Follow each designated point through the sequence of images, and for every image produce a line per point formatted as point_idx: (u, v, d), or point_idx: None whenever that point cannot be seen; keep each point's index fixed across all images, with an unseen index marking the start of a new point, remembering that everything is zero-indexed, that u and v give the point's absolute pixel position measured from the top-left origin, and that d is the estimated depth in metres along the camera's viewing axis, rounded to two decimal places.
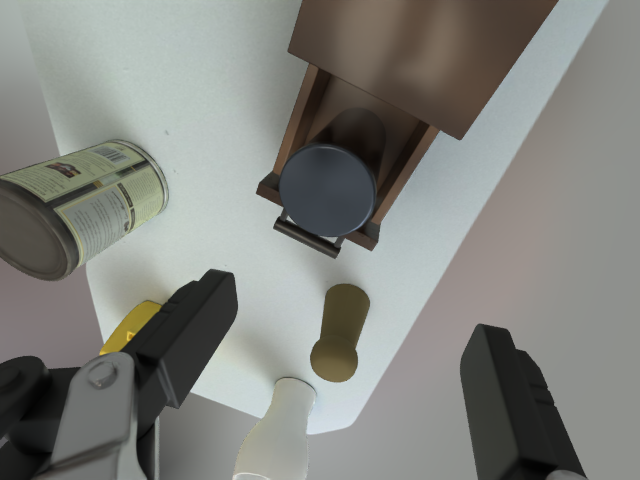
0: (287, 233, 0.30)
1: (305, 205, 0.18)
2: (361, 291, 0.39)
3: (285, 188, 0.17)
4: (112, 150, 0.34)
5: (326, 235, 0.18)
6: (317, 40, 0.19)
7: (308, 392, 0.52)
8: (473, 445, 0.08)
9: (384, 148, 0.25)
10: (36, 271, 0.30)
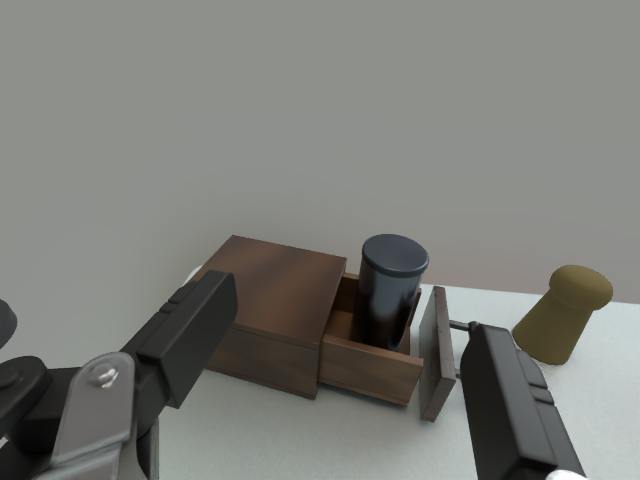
0: None
1: (409, 258, 0.25)
2: (514, 331, 0.38)
3: (403, 268, 0.24)
4: None
5: (423, 249, 0.26)
6: (309, 326, 0.27)
7: None
8: (473, 445, 0.08)
9: None
10: None
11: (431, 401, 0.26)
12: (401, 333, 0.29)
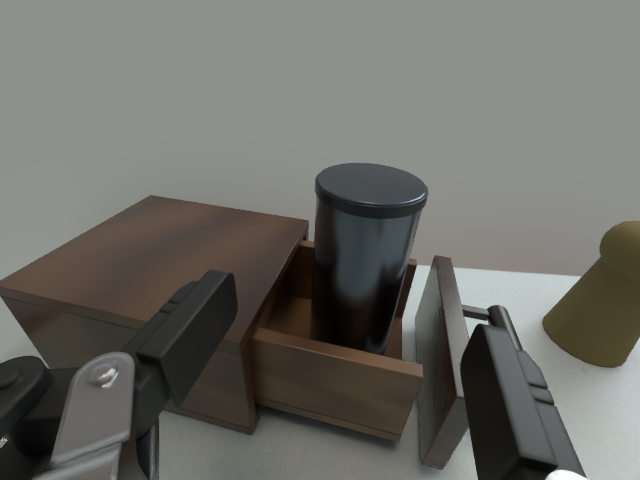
0: None
1: (394, 188, 0.14)
2: (545, 322, 0.28)
3: (383, 200, 0.13)
4: None
5: (418, 179, 0.16)
6: None
7: None
8: (473, 445, 0.08)
9: None
10: None
11: (437, 437, 0.15)
12: (386, 323, 0.18)
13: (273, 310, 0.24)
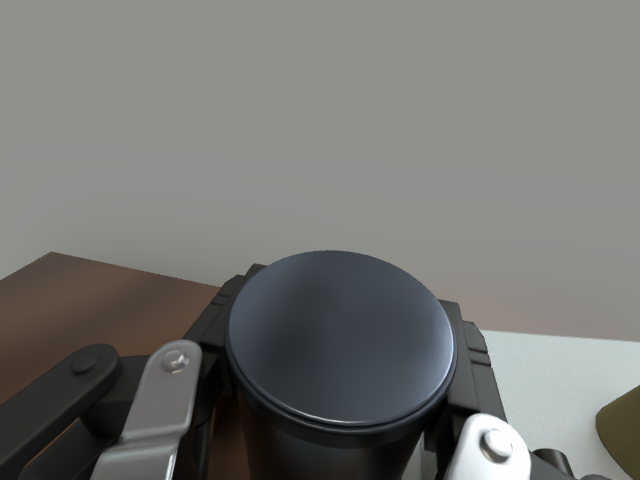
0: None
1: (385, 345, 0.07)
2: (600, 426, 0.20)
3: (358, 403, 0.06)
4: None
5: (435, 300, 0.08)
6: None
7: None
8: None
9: None
10: None
11: None
12: None
13: (213, 429, 0.17)
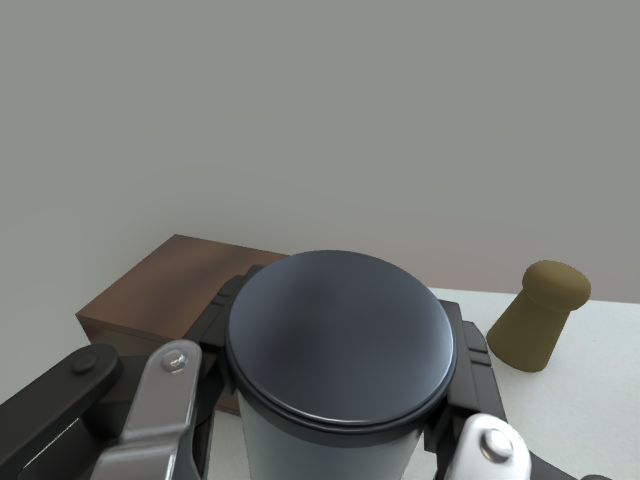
0: None
1: (385, 345, 0.07)
2: (488, 335, 0.35)
3: (357, 402, 0.06)
4: None
5: (435, 299, 0.08)
6: None
7: None
8: None
9: None
10: None
11: None
12: None
13: None
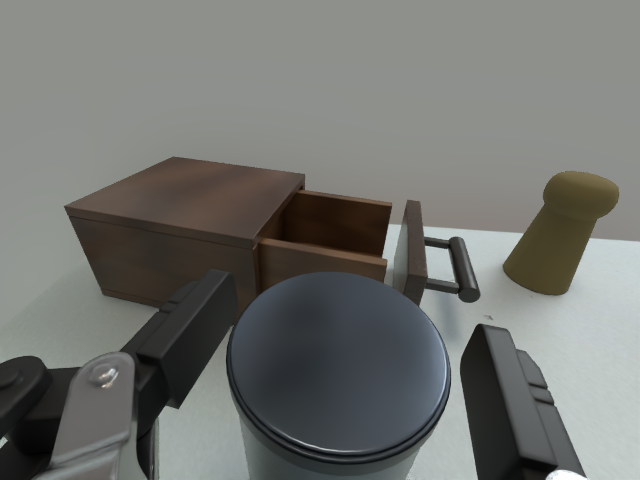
0: (470, 274, 0.22)
1: (381, 372, 0.07)
2: (504, 264, 0.33)
3: (354, 432, 0.06)
4: None
5: (430, 324, 0.08)
6: (244, 224, 0.21)
7: None
8: (473, 445, 0.08)
9: None
10: None
11: None
12: None
13: None
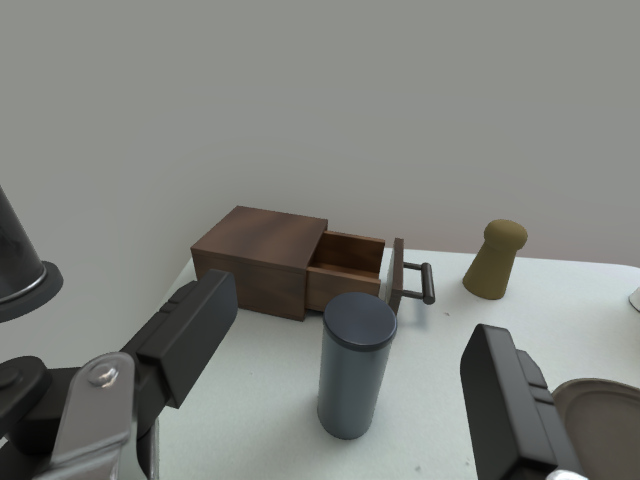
0: (430, 288, 0.37)
1: (374, 326, 0.22)
2: (463, 278, 0.48)
3: (366, 340, 0.21)
4: None
5: (392, 311, 0.24)
6: (297, 259, 0.36)
7: (634, 293, 0.46)
8: (473, 445, 0.08)
9: None
10: None
11: None
12: (372, 402, 0.26)
13: None
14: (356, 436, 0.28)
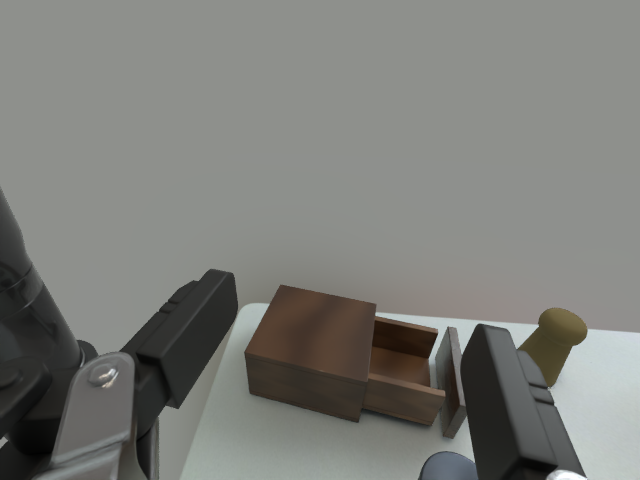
0: None
1: None
2: None
3: None
4: None
5: None
6: (357, 367, 0.35)
7: None
8: (473, 445, 0.08)
9: None
10: None
11: (451, 423, 0.35)
12: None
13: None
14: None
